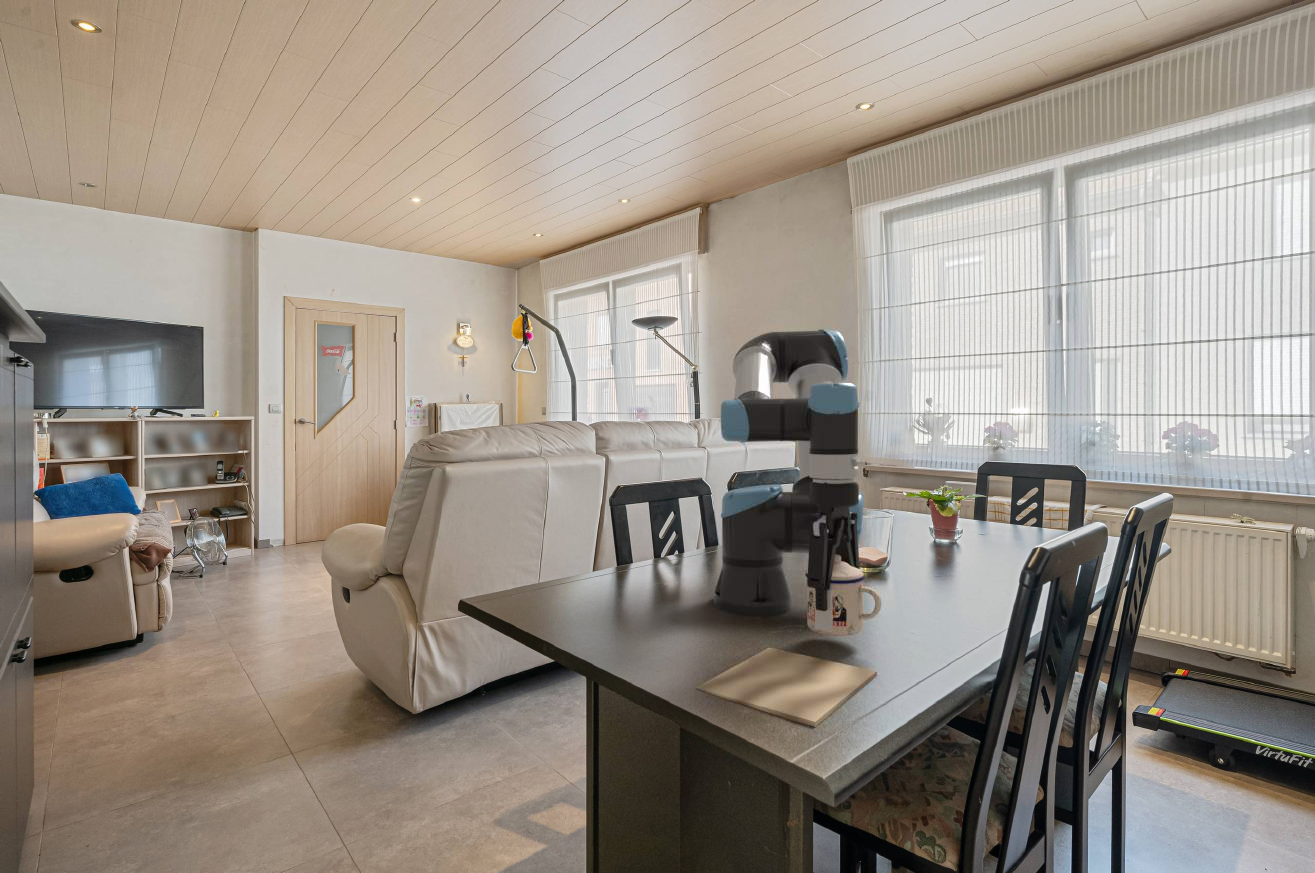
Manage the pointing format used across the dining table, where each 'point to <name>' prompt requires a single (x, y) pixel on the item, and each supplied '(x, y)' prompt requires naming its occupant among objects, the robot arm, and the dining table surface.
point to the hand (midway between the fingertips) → (835, 623)
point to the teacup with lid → (844, 600)
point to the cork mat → (790, 685)
